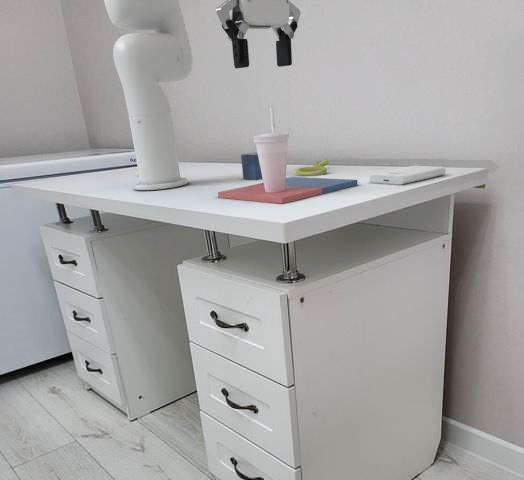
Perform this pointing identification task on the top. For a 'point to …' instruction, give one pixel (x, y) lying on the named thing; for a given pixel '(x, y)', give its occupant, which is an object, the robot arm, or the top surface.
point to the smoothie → (272, 158)
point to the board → (289, 190)
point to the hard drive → (407, 175)
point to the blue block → (251, 166)
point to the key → (313, 169)
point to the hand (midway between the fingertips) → (263, 66)
